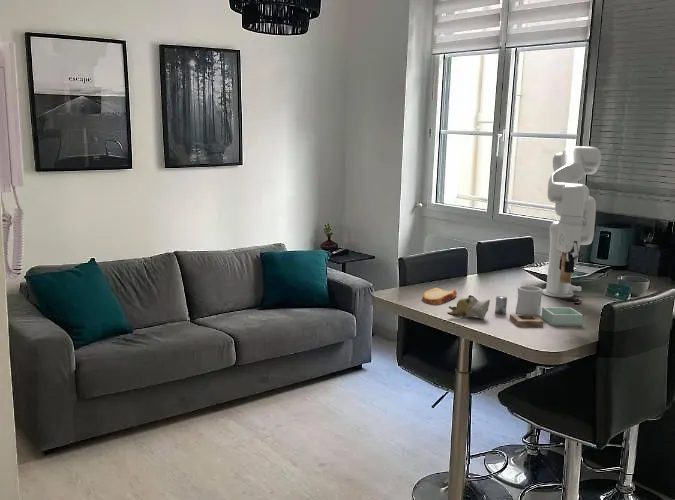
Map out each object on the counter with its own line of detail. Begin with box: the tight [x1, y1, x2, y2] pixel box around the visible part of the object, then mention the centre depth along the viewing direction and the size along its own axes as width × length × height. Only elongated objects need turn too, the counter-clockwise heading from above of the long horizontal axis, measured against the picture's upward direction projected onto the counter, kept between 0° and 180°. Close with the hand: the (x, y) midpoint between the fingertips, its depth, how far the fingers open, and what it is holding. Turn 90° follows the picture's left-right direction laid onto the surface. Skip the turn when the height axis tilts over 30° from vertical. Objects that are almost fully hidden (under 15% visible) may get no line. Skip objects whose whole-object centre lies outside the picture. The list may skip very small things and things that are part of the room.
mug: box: [515, 285, 543, 317], centre depth 249 cm, size 12×9×10 cm
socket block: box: [509, 313, 544, 328], centre depth 236 cm, size 9×9×2 cm
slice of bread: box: [421, 287, 458, 306], centre depth 267 cm, size 18×18×4 cm
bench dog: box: [494, 295, 508, 315], centre depth 248 cm, size 4×4×6 cm
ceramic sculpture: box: [446, 294, 491, 320], centre depth 241 cm, size 11×9×15 cm
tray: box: [540, 306, 584, 327], centre depth 239 cm, size 11×10×4 cm
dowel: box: [560, 251, 573, 284], centre depth 236 cm, size 4×4×12 cm
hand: (566, 270), depth 236 cm, fingers closed on dowel, 3 cm apart
